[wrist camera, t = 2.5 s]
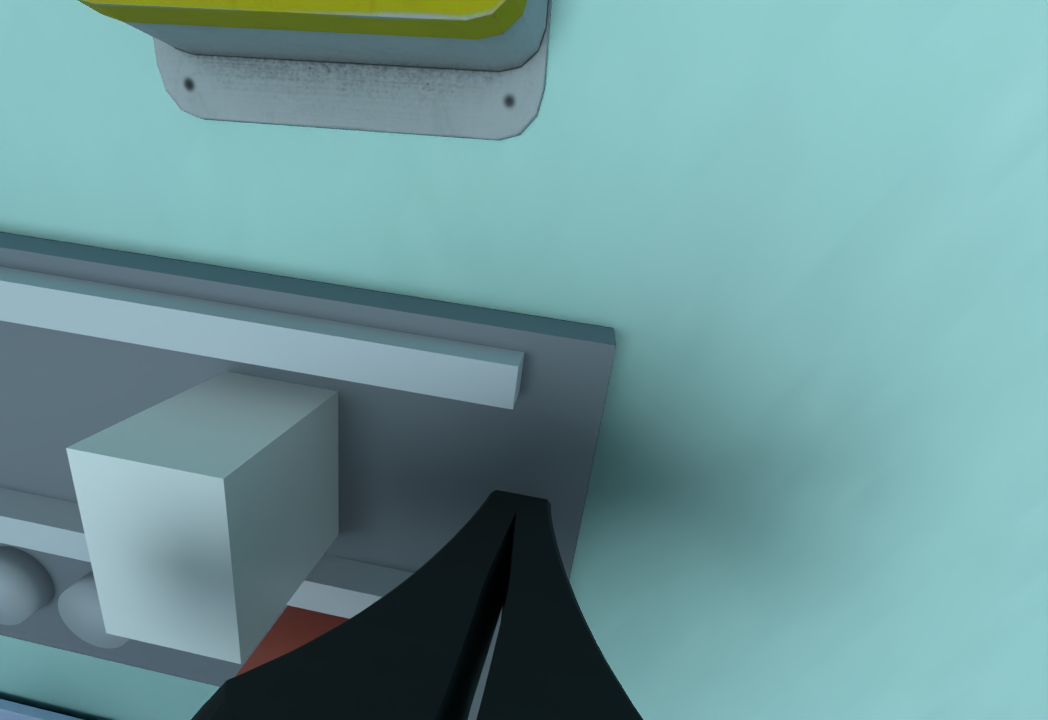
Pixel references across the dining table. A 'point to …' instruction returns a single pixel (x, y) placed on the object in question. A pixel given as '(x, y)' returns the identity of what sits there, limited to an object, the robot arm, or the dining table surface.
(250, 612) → the lever
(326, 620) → the block
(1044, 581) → the dining table surface
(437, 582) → the robot arm
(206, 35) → the emergency button
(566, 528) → the panel
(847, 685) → the dining table surface
